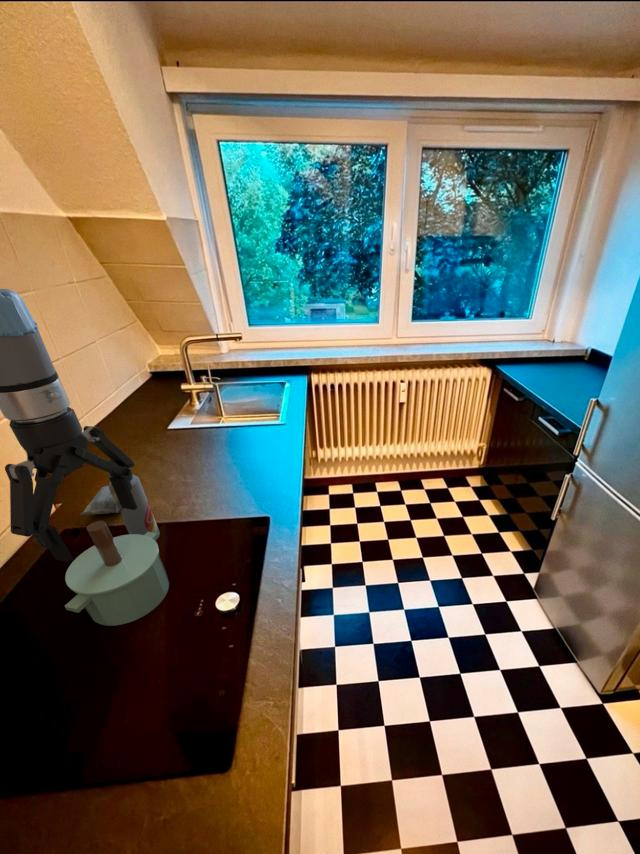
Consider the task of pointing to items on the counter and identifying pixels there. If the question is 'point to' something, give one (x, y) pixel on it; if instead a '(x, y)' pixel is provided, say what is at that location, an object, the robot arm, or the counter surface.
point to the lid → (110, 561)
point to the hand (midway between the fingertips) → (99, 531)
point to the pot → (126, 597)
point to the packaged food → (102, 503)
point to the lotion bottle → (142, 515)
